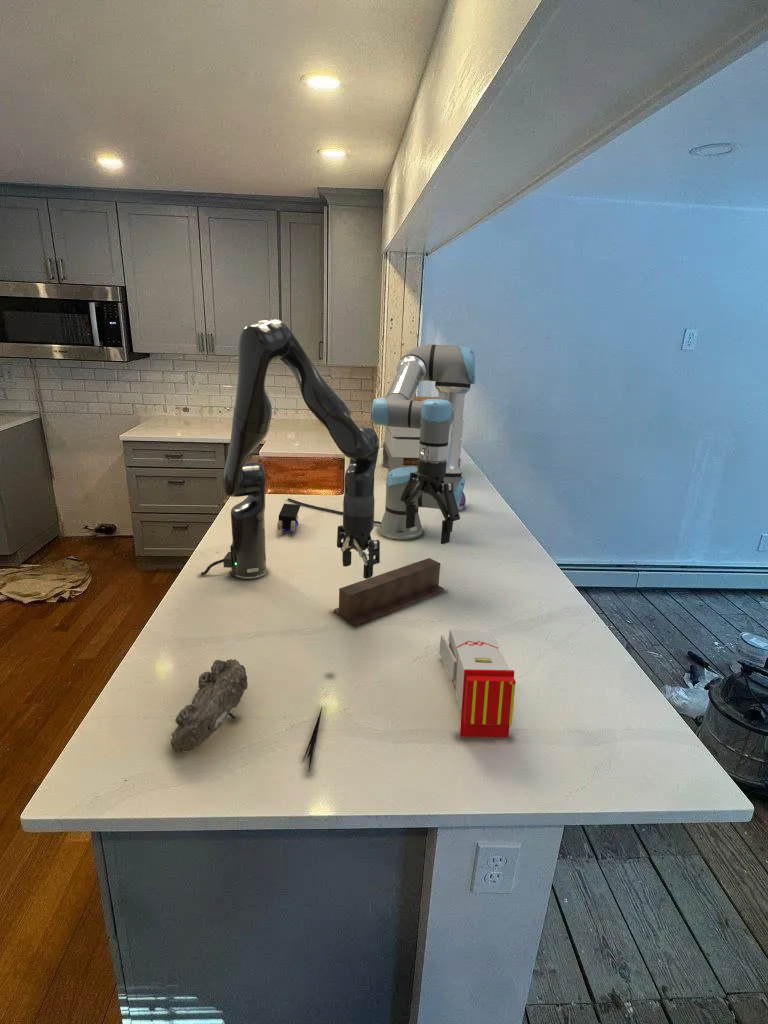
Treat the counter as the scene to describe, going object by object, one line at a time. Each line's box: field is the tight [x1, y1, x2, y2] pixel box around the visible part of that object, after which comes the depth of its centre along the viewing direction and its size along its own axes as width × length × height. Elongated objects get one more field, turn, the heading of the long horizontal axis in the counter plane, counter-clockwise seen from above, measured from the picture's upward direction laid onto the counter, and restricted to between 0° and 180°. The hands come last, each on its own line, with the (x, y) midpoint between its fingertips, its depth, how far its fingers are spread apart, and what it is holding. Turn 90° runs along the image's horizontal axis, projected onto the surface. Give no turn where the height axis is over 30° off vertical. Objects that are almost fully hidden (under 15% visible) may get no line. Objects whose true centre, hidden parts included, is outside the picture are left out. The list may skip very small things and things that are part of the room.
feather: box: [301, 673, 332, 771], centre depth 108 cm, size 2×28×2 cm
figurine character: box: [276, 503, 301, 536], centre depth 198 cm, size 7×8×15 cm
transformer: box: [381, 395, 464, 473], centre depth 268 cm, size 34×33×41 cm
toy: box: [438, 628, 517, 738], centre depth 117 cm, size 12×13×30 cm
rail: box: [333, 557, 445, 628], centre depth 152 cm, size 32×9×8 cm, turn 131°
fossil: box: [170, 658, 249, 753], centre depth 106 cm, size 22×10×15 cm
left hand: (357, 571), depth 141 cm, fingers open, 8 cm apart
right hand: (427, 535), depth 155 cm, fingers open, 13 cm apart
